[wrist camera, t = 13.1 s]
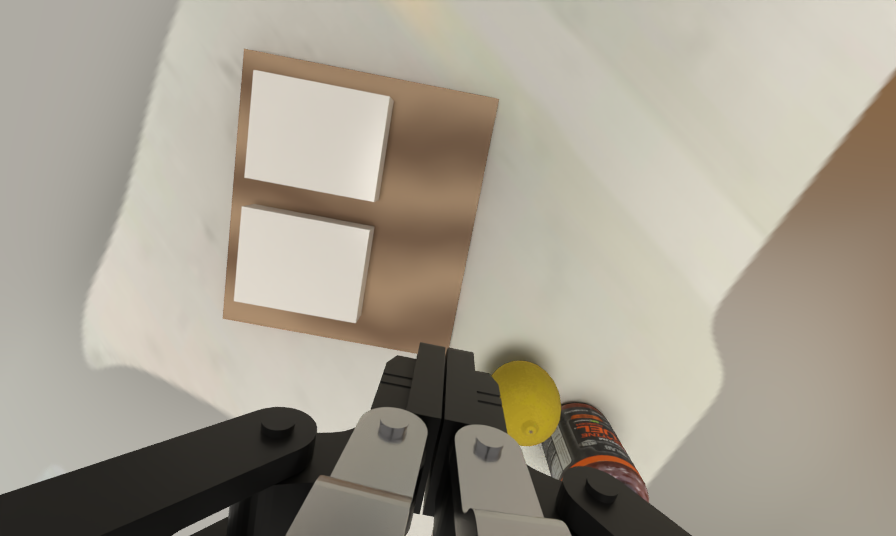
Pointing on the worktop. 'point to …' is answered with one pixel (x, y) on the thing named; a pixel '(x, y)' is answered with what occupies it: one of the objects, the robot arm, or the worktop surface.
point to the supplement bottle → (590, 447)
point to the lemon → (528, 402)
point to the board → (384, 208)
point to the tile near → (317, 136)
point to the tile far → (302, 262)
